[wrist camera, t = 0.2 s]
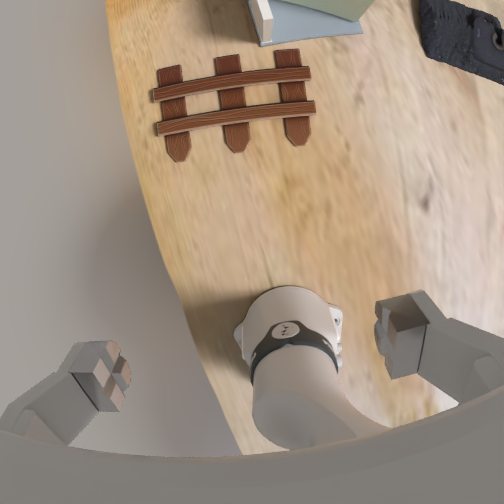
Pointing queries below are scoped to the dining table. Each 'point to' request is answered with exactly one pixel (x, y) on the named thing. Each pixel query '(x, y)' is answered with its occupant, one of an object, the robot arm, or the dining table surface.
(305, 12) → the card
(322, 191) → the dining table surface
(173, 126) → the decorative fence
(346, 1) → the green wall panel
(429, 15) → the dark slate chunk
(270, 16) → the fence post and white panel
